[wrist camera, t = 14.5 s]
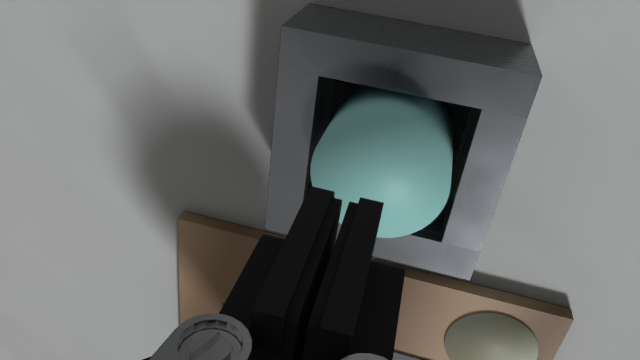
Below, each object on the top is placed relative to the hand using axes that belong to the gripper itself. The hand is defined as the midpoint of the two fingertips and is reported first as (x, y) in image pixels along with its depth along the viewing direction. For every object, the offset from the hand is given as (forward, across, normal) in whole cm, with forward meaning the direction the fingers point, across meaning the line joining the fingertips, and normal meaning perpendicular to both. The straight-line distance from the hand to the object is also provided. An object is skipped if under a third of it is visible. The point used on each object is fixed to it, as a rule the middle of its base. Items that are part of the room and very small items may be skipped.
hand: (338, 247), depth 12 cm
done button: (+8, 0, 0) cm, 8 cm away
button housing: (+8, 0, 0) cm, 8 cm away
